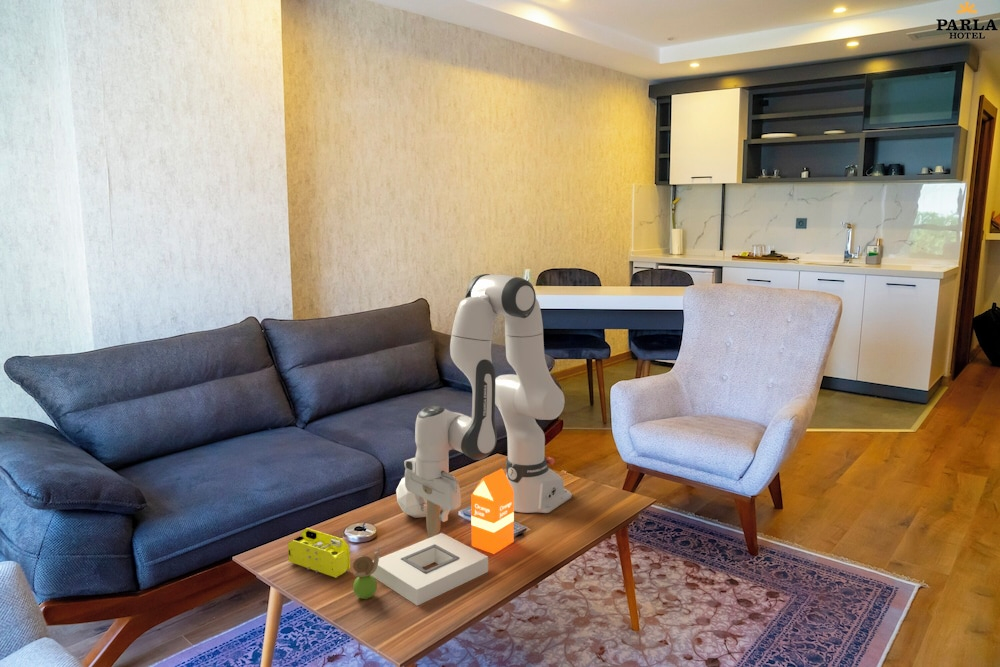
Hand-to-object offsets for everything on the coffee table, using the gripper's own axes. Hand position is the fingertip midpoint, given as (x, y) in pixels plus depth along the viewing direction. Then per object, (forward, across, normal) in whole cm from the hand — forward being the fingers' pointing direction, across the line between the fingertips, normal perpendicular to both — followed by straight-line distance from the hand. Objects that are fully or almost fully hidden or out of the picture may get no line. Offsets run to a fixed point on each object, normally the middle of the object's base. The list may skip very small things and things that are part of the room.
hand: (432, 515), depth 197 cm
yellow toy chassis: (+7, +7, +31) cm, 32 cm away
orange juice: (+7, -14, -9) cm, 18 cm away
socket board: (+6, -15, +13) cm, 21 cm away
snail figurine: (+7, -13, +30) cm, 33 cm away
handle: (+7, 0, 0) cm, 7 cm away
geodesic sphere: (+7, +14, -6) cm, 17 cm away
